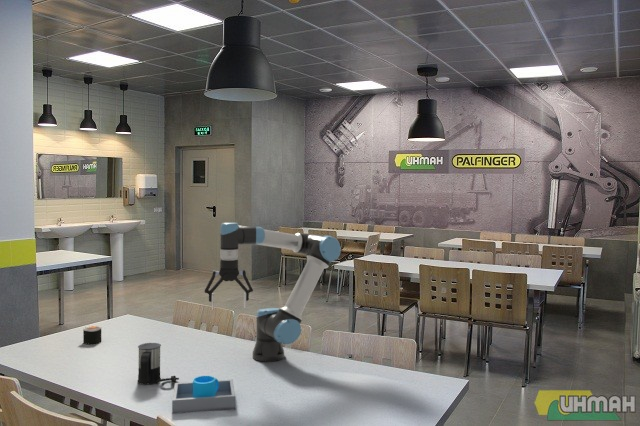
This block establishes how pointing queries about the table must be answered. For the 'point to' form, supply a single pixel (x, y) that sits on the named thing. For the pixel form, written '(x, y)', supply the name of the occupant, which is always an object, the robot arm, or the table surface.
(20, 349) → the table surface
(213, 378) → the mug
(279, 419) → the table surface
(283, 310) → the robot arm
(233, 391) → the box
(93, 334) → the sushi
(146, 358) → the milk frother
